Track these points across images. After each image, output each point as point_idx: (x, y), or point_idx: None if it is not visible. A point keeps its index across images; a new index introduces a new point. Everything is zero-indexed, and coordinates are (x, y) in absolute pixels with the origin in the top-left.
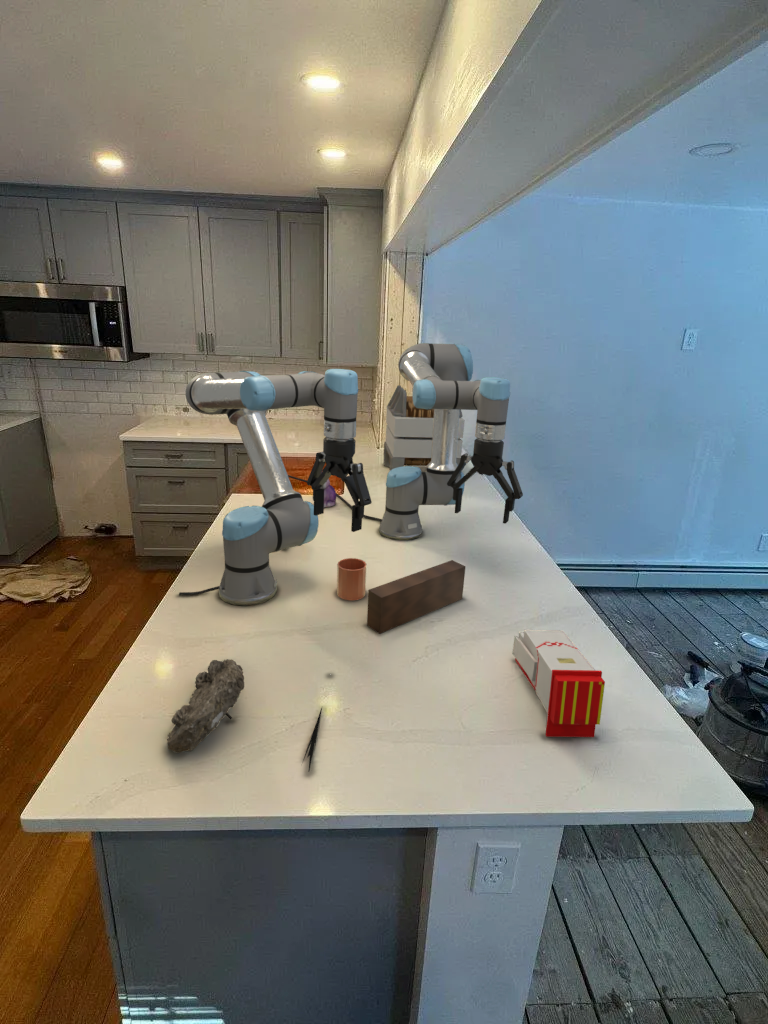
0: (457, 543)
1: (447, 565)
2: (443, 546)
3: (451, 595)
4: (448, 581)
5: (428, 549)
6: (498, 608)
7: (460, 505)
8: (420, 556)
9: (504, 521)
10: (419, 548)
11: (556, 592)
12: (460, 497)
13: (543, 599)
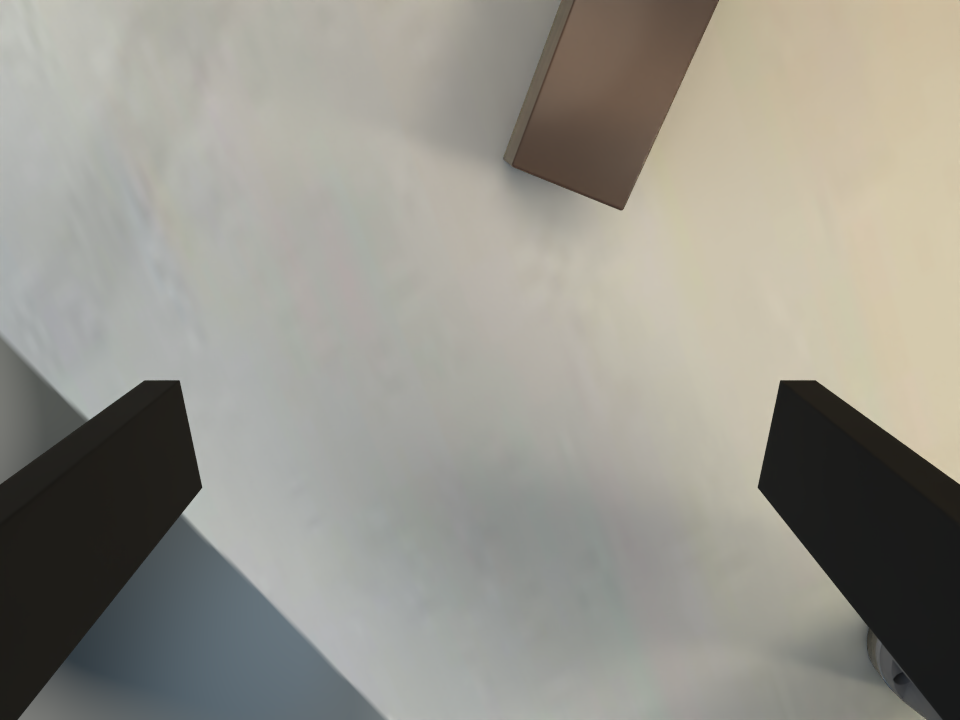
0: (695, 642)
1: (624, 101)
2: (743, 592)
3: (539, 65)
4: (566, 8)
5: None
6: (323, 167)
7: (803, 513)
8: None
9: (147, 392)
10: None
11: None
12: (896, 581)
13: (200, 362)
